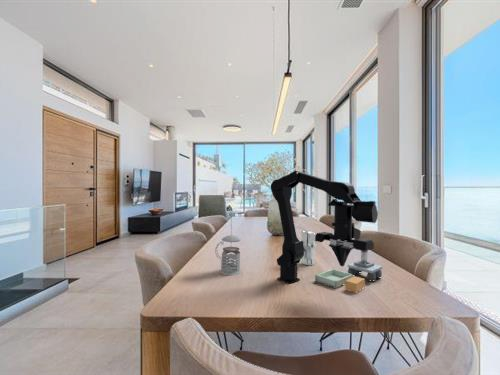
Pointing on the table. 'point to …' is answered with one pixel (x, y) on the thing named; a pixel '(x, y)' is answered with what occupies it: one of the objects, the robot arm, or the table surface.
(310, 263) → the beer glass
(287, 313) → the table surface
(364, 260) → the pin
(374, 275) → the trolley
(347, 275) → the tray
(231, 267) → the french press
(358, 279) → the orange rectangular block
